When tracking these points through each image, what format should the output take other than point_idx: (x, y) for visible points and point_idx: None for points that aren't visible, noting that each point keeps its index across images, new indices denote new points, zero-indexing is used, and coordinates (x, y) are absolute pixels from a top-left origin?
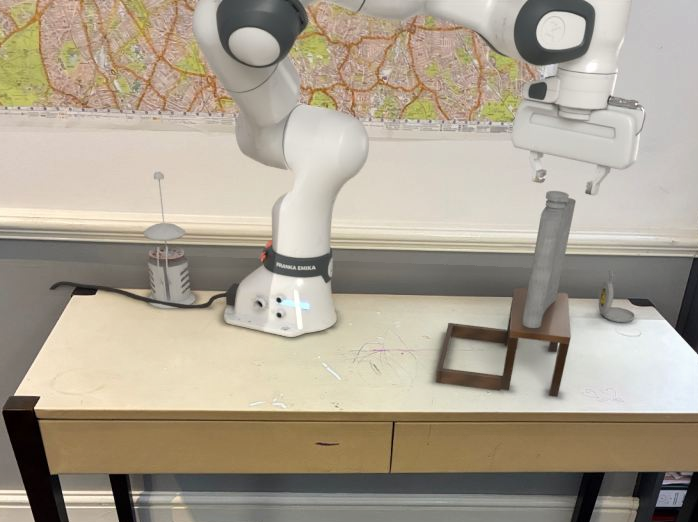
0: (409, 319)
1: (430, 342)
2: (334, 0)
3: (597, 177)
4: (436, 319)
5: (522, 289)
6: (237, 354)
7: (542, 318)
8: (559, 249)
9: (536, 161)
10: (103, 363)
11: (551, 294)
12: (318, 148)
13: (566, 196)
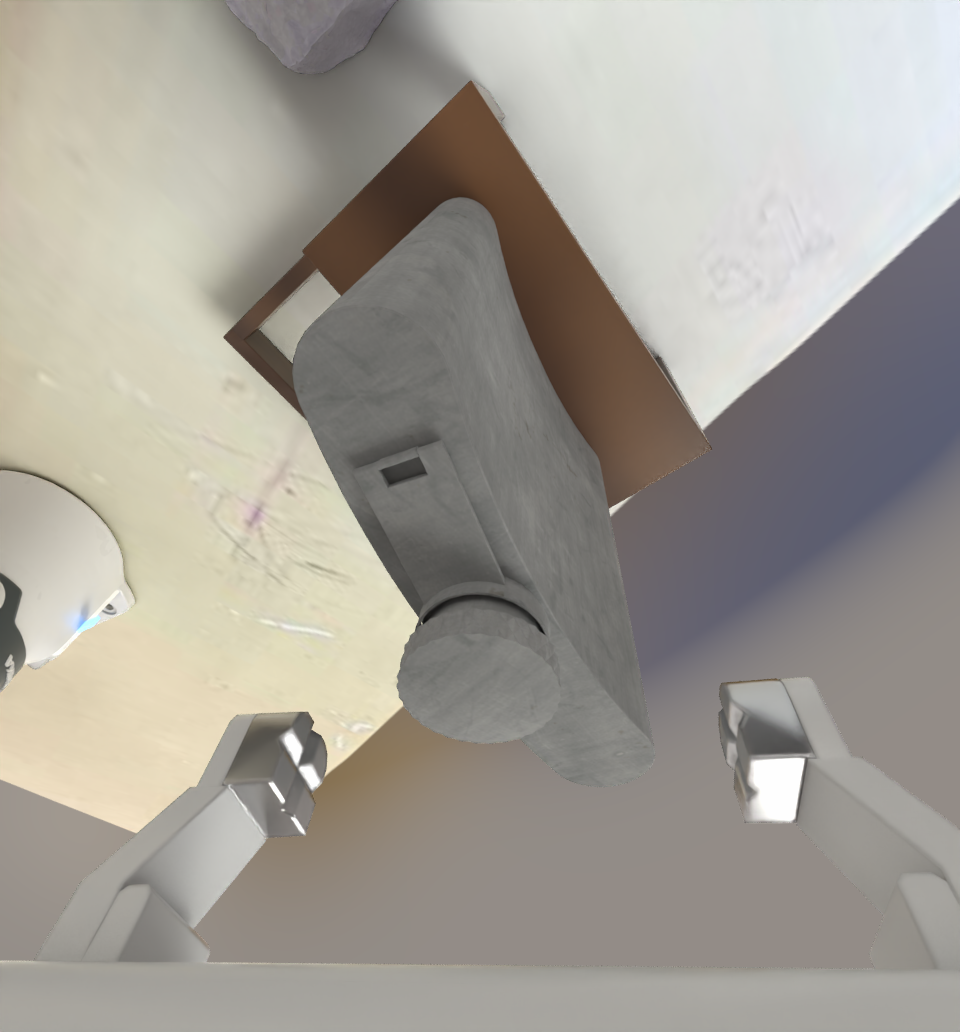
0: (108, 339)
1: (264, 399)
2: None
3: (871, 889)
4: (130, 269)
5: (334, 238)
6: (172, 688)
7: (565, 404)
8: (511, 394)
9: (192, 895)
10: (141, 794)
11: (512, 307)
12: None
13: (558, 695)
